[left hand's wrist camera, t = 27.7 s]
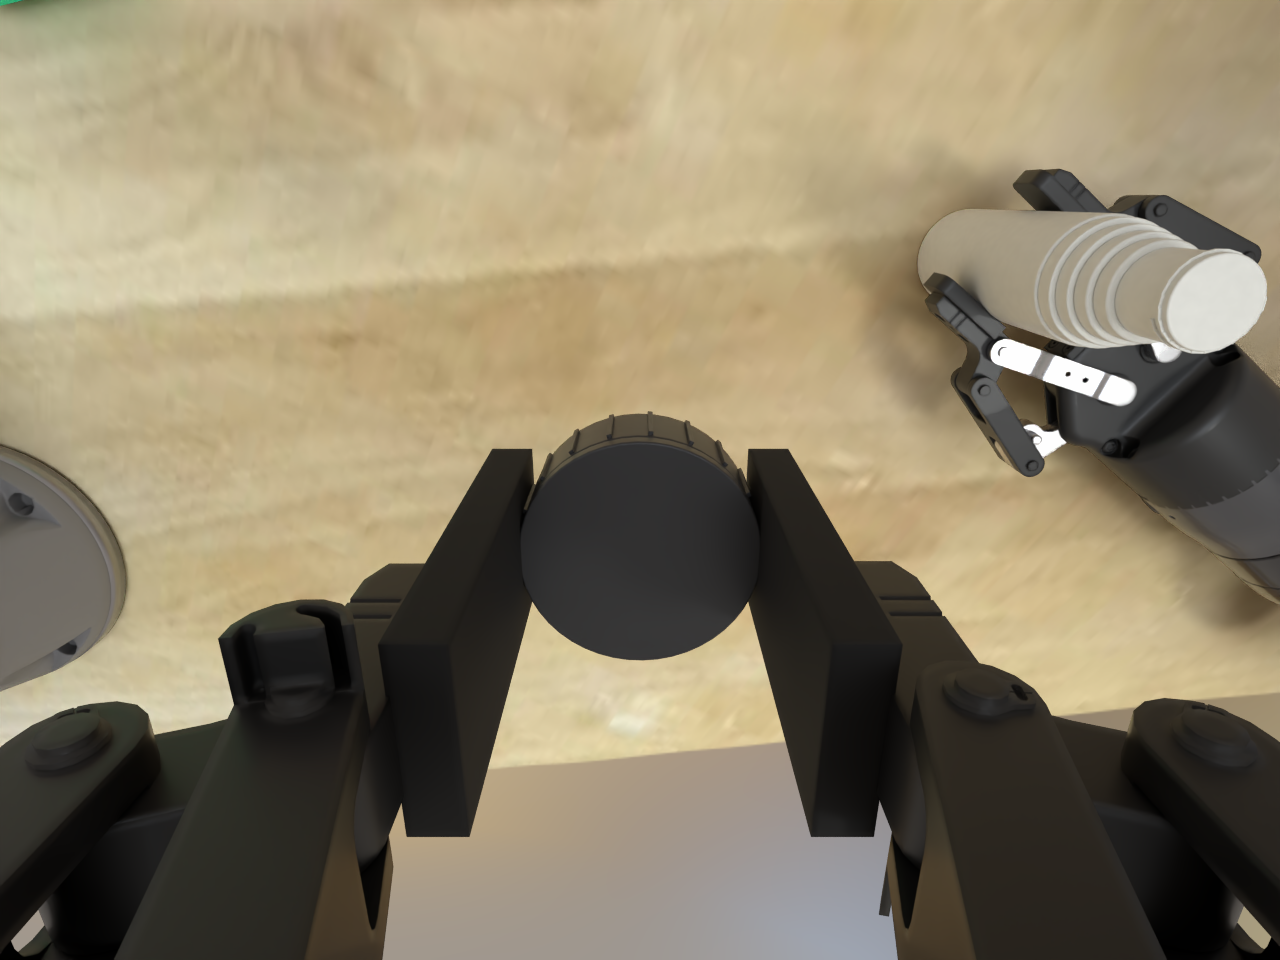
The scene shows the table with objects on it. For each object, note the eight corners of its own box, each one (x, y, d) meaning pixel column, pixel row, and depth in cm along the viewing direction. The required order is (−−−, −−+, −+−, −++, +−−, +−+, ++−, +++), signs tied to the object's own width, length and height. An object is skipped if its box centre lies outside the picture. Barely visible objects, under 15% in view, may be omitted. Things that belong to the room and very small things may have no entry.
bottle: (910, 303, 40) (1115, 382, 23) (924, 207, 38) (1158, 215, 21) (999, 304, 40) (1271, 384, 23) (1017, 209, 38) (1326, 218, 21)
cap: (782, 568, 15) (800, 614, 13) (587, 641, 15) (580, 694, 14) (702, 374, 13) (710, 398, 12) (490, 464, 14) (470, 499, 12)
